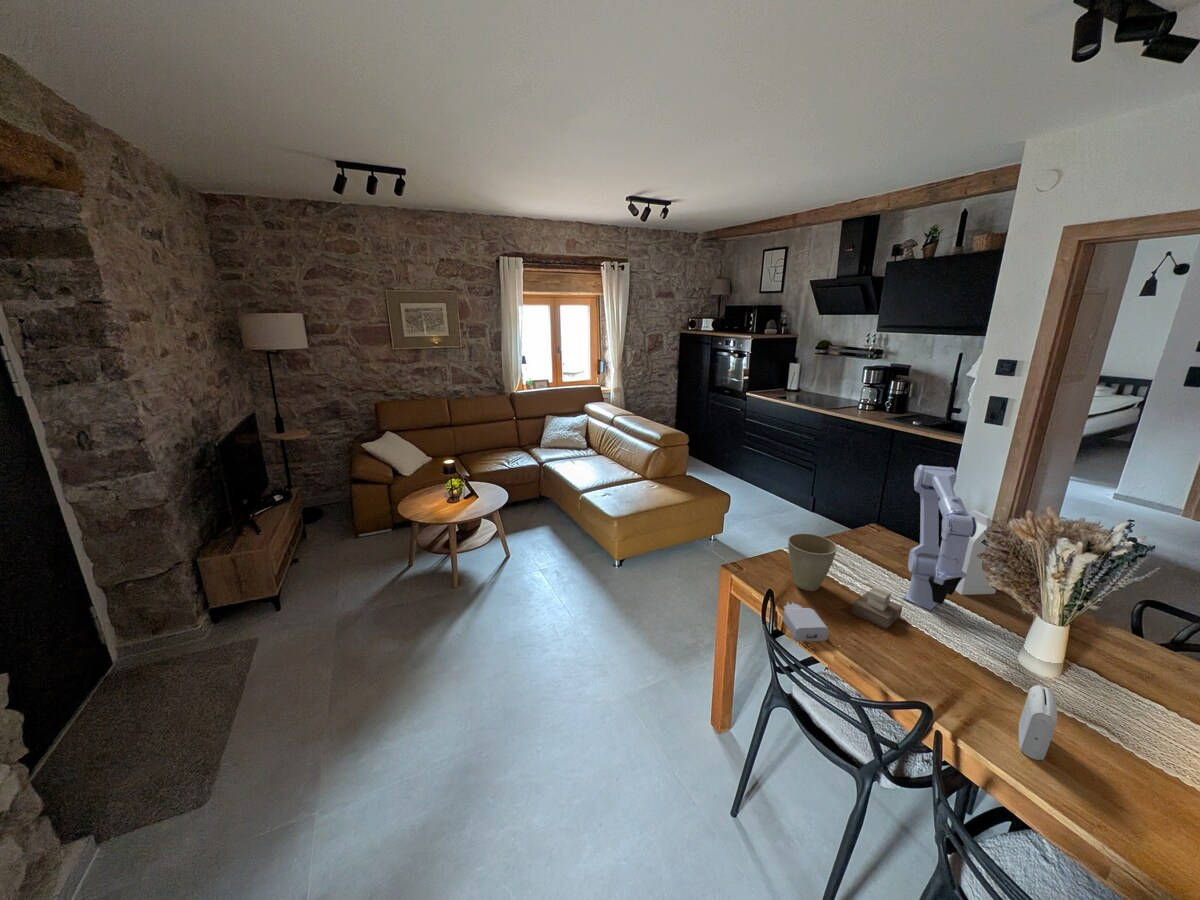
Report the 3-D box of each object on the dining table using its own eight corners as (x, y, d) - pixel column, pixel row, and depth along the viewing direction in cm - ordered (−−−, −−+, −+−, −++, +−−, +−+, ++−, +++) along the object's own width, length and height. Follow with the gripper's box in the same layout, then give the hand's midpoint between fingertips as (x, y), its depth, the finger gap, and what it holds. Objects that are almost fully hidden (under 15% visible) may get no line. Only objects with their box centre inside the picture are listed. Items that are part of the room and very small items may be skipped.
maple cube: (872, 598, 144) (875, 586, 143) (888, 605, 141) (891, 592, 139) (866, 604, 141) (869, 591, 140) (882, 611, 138) (885, 598, 137)
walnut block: (866, 601, 149) (868, 591, 148) (900, 617, 141) (902, 606, 140) (850, 613, 143) (852, 602, 142) (885, 630, 136) (887, 618, 134)
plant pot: (840, 595, 152) (847, 552, 147) (798, 599, 150) (803, 555, 145) (814, 571, 166) (819, 531, 161) (775, 575, 164) (779, 534, 159)
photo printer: (1045, 765, 95) (1062, 717, 91) (1017, 753, 97) (1032, 706, 94) (1042, 731, 102) (1057, 686, 99) (1017, 721, 105) (1030, 676, 101)
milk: (934, 574, 163) (949, 507, 156) (966, 574, 163) (982, 506, 156) (961, 594, 151) (978, 522, 144) (995, 593, 152) (1014, 521, 145)
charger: (803, 609, 145) (826, 641, 131) (774, 609, 145) (794, 642, 131) (805, 596, 144) (829, 627, 130) (776, 596, 144) (796, 628, 129)
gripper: (960, 569, 122) (949, 613, 125) (978, 553, 130) (968, 595, 133) (929, 558, 127) (920, 601, 131) (948, 544, 135) (939, 584, 139)
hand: (942, 597), depth 132 cm, fingers open, 7 cm apart
